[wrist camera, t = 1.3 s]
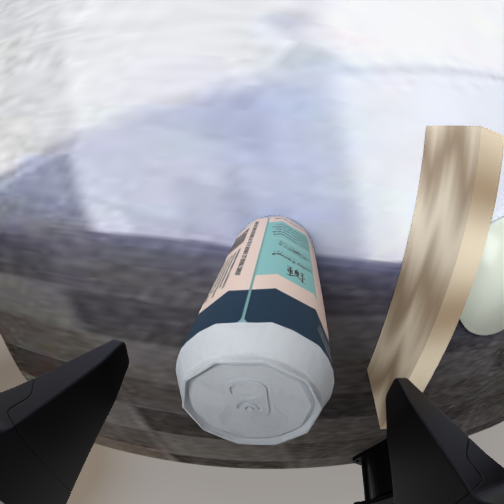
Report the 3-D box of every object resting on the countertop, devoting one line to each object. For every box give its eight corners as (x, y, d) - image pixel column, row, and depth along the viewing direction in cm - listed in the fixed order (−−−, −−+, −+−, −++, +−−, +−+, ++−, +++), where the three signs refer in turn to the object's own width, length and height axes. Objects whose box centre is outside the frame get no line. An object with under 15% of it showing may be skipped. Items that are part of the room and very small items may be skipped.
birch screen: (384, 370, 21) (400, 427, 16) (366, 369, 21) (380, 429, 16) (446, 131, 14) (504, 136, 9) (426, 125, 14) (481, 126, 9)
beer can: (241, 287, 20) (189, 446, 9) (230, 216, 18) (143, 343, 7) (315, 283, 19) (331, 450, 8) (311, 210, 17) (342, 341, 6)
